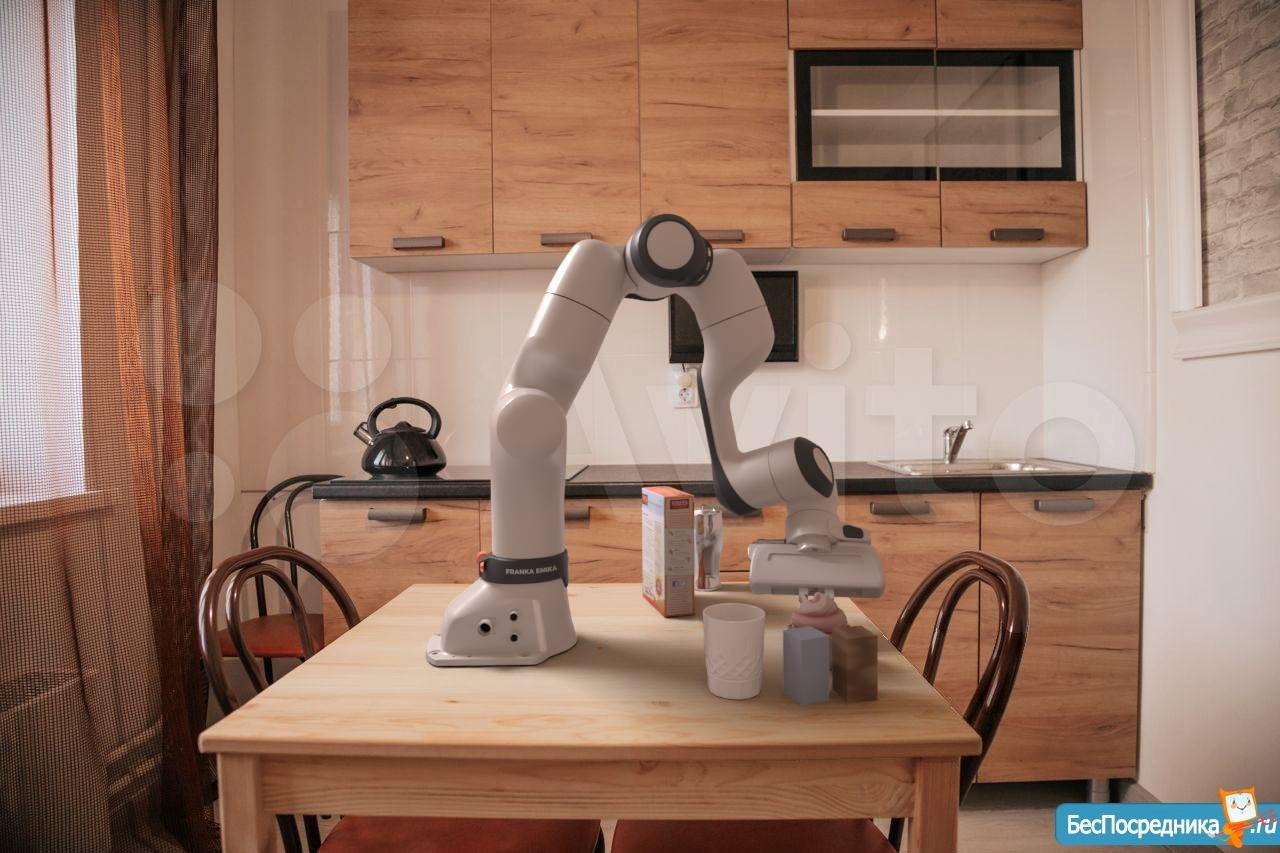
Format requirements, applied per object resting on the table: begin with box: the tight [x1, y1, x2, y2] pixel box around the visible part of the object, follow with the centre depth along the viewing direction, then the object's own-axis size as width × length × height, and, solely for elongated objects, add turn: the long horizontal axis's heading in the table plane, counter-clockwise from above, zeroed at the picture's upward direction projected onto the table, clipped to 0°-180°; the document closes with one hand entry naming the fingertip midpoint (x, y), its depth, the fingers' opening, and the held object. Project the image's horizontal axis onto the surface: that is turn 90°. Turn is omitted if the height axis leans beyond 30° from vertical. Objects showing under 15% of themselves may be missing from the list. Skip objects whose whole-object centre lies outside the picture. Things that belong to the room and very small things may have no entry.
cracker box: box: [641, 485, 696, 618], centre depth 125 cm, size 14×6×21 cm, turn 15°
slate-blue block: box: [782, 626, 830, 706], centre depth 86 cm, size 4×4×8 cm
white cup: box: [702, 602, 766, 701], centre depth 89 cm, size 8×8×10 cm
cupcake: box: [785, 592, 851, 670], centre depth 97 cm, size 9×9×10 cm
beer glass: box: [694, 508, 724, 592], centre depth 137 cm, size 7×7×15 cm
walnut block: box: [831, 625, 879, 704], centre depth 86 cm, size 4×4×8 cm
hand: (817, 619), depth 102 cm, fingers closed
